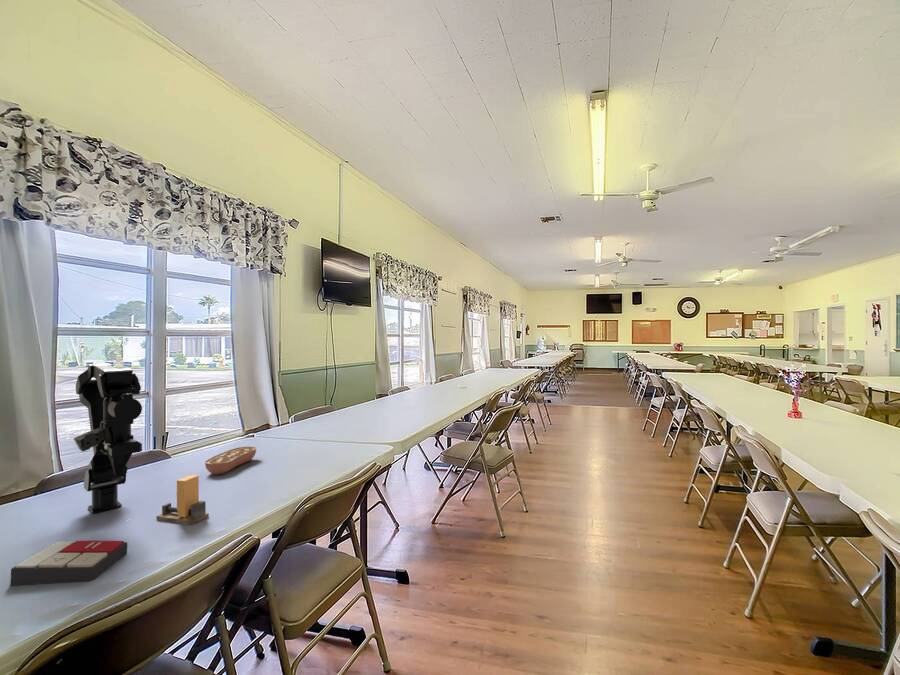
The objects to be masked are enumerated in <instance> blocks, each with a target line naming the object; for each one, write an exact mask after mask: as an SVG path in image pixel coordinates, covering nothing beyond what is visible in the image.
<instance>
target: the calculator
mask: <svg viewBox="0 0 900 675" xmlns="http://www.w3.org/2000/svg"><path fill="white" fill-rule="evenodd" d="M127 554H128V542H127V541H125V540H75V541H56V542H54V543H52V544H50V545H48V546H47V547H45V548H43V549H42V550H40V551H38V552H36V553H35V554H34V555H31V556H29V557H27V558H26V559H25V560H22V561H21V562H20V563H18V564H16V565H15V566H13V567H11V569H10V581H9V582H10V583H9V584H10V585H9V586H10V587H18V586H19V587H20V586H34V585H36V584H66V583H67V584H69V583H84V582H85V583H86V582H88V583H89V582H92V581H94V580H95V579H97V578H98V577H99V576H100V575H102V574H103V573H105V572H106V571H108V569H110V568H111V567H112V566H113V565H115V564H116V563H118V562H119V561H120V560H121V559H123V558H124V557H125V556H126V555H127Z"/></svg>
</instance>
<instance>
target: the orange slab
mask: <svg viewBox="0 0 900 675" xmlns="http://www.w3.org/2000/svg"><path fill="white" fill-rule="evenodd" d="M199 478H200V477H199V475H195V474H190V475H188V476H185V477H182V478H179V479H177V480H176V508H177V511H178V516H179V517H187V516H189V510H191V505H193V504H195V503H197V502H200V500H199V499H200V498H199V497H200V495H199V493H200V491H199V489H200V484H199V482H200V481H199Z"/></svg>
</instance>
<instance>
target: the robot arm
mask: <svg viewBox="0 0 900 675" xmlns="http://www.w3.org/2000/svg"><path fill="white" fill-rule="evenodd" d="M141 389H142V386H141V383H140V380H139V378H138V376H137V374H136V372H134V371H133V369H132V368H117V367H114V366H112V364H111V363H108V362H106V363H105V362H104V363H102V362H101V363H91V364H89V365H88V366H87V369H86V370H85V371H83V372H82V373H80V374H79V375H78V376H77V379H76V383H75V394H76V395H78V398H79V402H80V403H81V404H82V405H83V406H85V407H86V408H87V410H88V419H89V420H88V421H89V426H90V430H89V431H86V432H84V433H82V434H80V435H78V436H75V437H74V438H73V440H74V442H75V444H76V446H77V447H78V449H79V450H80V451H81V452H86V451H89V450H90V449H91V448H92V450H93V456H92V458H91V460H90V462H89V464H88V465H87V469H86V471H85V475H84V478H83V488H84V489H85V491H87V492H91V505H88V506H87V509H88V510H89V511H90V512H91V513H92V514H97V513H101V512H104V511H105V512H106V511H108V510H113V509H116V508H120V507H122V505H123V504H122V503H121V502H120V501H119V499H118V495H119V494H118V493H119V492H118V485H124V484H126V482H127V473H128V469H129V466H127V464H128V462H129V461H130V459H131V456H132V455H133V454H136V453H140V452H142V451H143V443H141V442H140V441H138V440H137V439H134V434H132V425H134V420H136V419H137V418H138V417H139V416H140V415H141V414H142V411H143V407H142V403H141V402H140V401H139V400H137V399H134V397H133V396H135V395H140V392H141V391H142V390H141Z"/></svg>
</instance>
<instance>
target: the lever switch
mask: <svg viewBox="0 0 900 675" xmlns="http://www.w3.org/2000/svg"><path fill="white" fill-rule="evenodd" d="M206 509H207V508H206V500H199V502H197V503H195V504H193V505H191V510H189V516H187V517H179V516H178V511H177V507H174V506H172V502H168V503H165V504H163V505H161V513H160V514H158V515H156V521H160V522H161V521H162V522H168V523H175V524H182V525H190V526H194V525H195V524H197V523H198V524H199V523H200V522H202V521H204V520H206V519H208V518H210V516H209V513H208V512H206Z"/></svg>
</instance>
